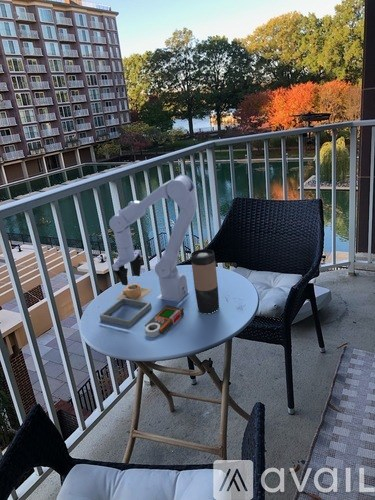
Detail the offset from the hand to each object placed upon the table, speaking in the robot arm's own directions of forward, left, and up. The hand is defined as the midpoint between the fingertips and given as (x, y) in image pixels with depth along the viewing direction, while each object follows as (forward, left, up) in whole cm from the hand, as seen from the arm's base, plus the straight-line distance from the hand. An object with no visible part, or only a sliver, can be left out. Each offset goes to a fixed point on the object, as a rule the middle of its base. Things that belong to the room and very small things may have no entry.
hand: (131, 280), depth 136 cm
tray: (-6, +12, -6) cm, 15 cm away
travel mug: (-31, 0, -7) cm, 32 cm away
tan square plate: (0, 0, -7) cm, 6 cm away
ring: (0, 0, -6) cm, 6 cm away
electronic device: (-21, +13, -7) cm, 26 cm away
